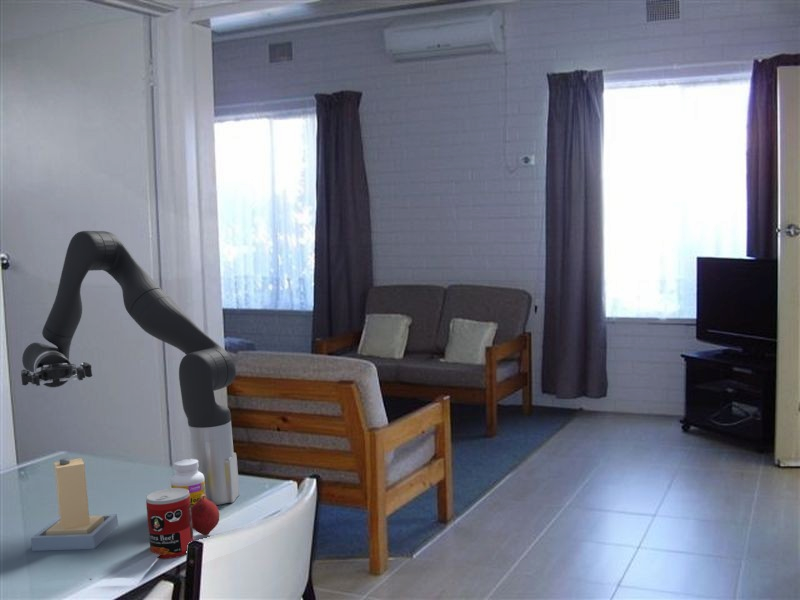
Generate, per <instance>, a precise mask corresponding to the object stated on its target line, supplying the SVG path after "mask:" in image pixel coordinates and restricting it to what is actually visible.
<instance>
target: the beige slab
mask: <svg viewBox="0 0 800 600" xmlns="http://www.w3.org/2000/svg"><path fill="white" fill-rule="evenodd" d="M101 515H102V516H89V518H90V524H88V525H83V526H78V527H73V528H68V529H62V526H61V524H60V521H58V522H57V523H56V524H55V525H53V526H52V527H51V528H49V529H48V530H47V531H46V536H47V535H75V534H90V533H92V532H93V531H94V530H95V529H96V528H97V527H98V526H100V525H101V524H102V523H103V522H104V517H103V515H104V514H101Z"/></svg>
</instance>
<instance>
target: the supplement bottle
mask: <svg viewBox="0 0 800 600" xmlns="http://www.w3.org/2000/svg"><path fill="white" fill-rule="evenodd" d="M198 467H199V464H198V460H196V459H191V458H186V459H180V460H177V461H175V462H174V470H175V474H174V475H173V476H172V477H171V479H170V485H171V487H170V488H184V489H187V490H189V494H190V503H191V508H192V506H193V505H194V504H195V503H196V502H197V501H198V500H199V499H200V497H201V495H206V493H205V479H204V475H203V474H202V473H201V472H199V471H198Z"/></svg>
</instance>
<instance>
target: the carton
mask: <svg viewBox="0 0 800 600" xmlns="http://www.w3.org/2000/svg"><path fill="white" fill-rule="evenodd" d="M53 465H54V466H53V467H54V474H55V476H54V477H55V485H56V495H57V497H56V498H57V506H58V507H57V508H58V515H59V516H58V517H59V518H60V524H61V526H62V529H68V528H73V527H78V526H83V525H88V524H90V518H89V515H90V511H89V502H88V501H89V499H88V489H87V487H88V486H87V479H86V478H87V477H86V467H85V463H84V461H83V459H82V458H81V457H79V458H74V459H70V458H67V457H66V458H61V459H59V461H55V462H53Z"/></svg>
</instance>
